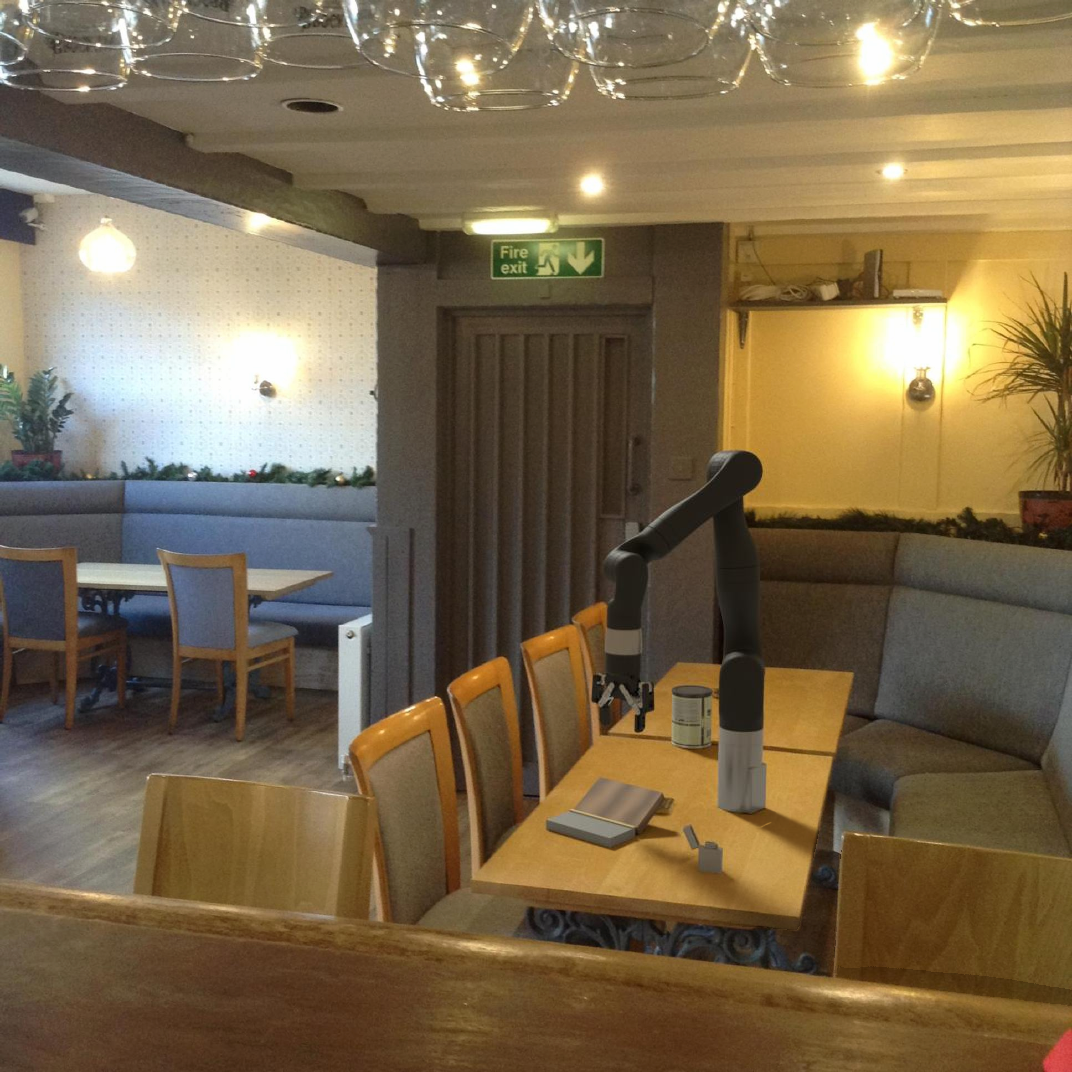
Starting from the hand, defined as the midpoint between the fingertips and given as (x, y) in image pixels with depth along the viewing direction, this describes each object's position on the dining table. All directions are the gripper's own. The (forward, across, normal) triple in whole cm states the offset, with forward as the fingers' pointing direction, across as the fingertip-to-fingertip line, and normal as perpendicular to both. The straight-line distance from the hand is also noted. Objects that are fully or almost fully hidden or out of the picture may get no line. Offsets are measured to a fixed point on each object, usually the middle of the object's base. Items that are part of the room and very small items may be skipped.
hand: (621, 728), depth 240 cm
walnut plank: (+16, -1, +2) cm, 16 cm away
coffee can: (+19, +22, -59) cm, 66 cm away
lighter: (+19, -28, +13) cm, 36 cm away
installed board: (+19, -1, +11) cm, 22 cm away
